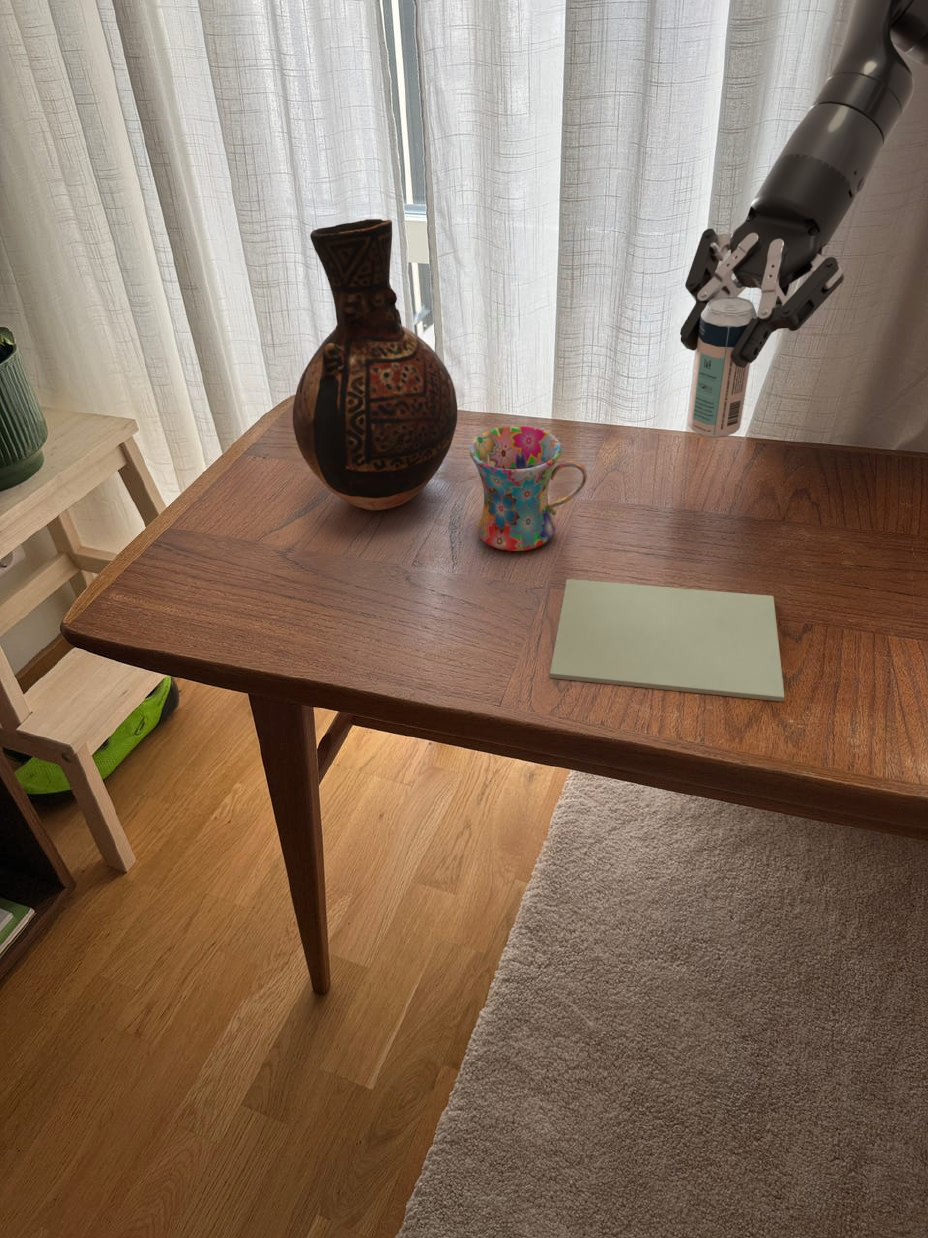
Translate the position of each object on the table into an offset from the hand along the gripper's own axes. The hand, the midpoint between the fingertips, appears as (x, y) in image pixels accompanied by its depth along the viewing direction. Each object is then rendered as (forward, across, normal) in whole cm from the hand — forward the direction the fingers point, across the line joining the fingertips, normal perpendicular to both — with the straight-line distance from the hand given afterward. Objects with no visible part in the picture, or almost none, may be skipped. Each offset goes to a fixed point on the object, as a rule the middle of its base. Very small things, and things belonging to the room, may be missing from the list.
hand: (711, 353), depth 79 cm
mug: (+22, -14, +9) cm, 27 cm away
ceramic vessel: (+26, -32, +4) cm, 42 cm away
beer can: (+5, 0, +7) cm, 9 cm away
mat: (+24, +7, +7) cm, 26 cm away
